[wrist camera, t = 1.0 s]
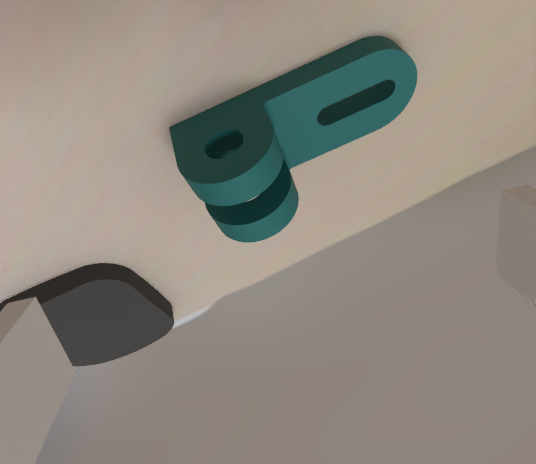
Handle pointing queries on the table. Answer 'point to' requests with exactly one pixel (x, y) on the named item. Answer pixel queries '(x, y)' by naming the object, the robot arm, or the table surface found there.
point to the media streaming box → (101, 312)
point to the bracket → (288, 132)
